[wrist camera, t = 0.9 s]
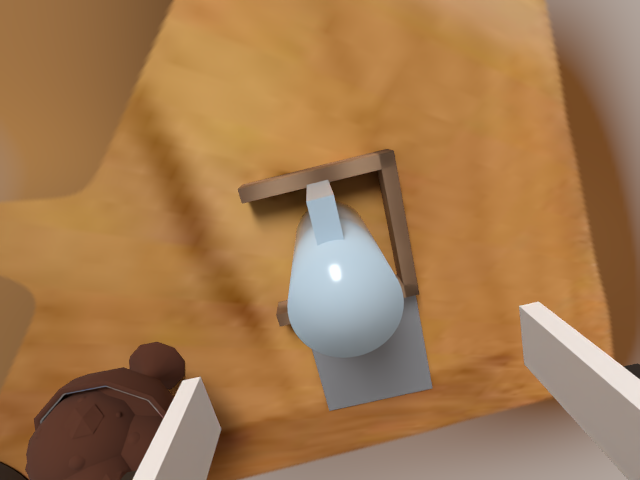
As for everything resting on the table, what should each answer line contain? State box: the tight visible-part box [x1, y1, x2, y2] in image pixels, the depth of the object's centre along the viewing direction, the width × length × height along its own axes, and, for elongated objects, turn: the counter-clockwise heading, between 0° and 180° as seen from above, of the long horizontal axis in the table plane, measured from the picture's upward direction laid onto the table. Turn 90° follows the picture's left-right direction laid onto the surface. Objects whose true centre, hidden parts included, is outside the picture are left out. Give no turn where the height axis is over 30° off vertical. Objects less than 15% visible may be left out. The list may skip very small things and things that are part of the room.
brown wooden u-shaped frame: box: [238, 149, 419, 326], centre depth 32 cm, size 13×13×2 cm
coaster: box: [312, 295, 432, 411], centre depth 37 cm, size 11×11×1 cm
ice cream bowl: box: [25, 342, 184, 480], centre depth 30 cm, size 11×11×15 cm
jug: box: [287, 180, 404, 358], centre depth 27 cm, size 6×9×14 cm
